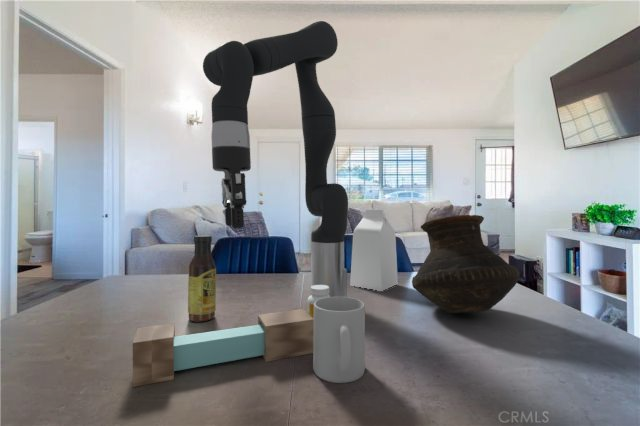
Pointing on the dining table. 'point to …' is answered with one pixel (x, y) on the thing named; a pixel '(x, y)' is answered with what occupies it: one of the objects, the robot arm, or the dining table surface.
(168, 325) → the socket
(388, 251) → the milk
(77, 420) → the dining table surface
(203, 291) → the sauce bottle
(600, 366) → the dining table surface
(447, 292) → the ceramic pot
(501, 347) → the dining table surface
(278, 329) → the wooden block
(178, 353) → the long turquoise beam
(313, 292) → the supplement bottle
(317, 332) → the mug
